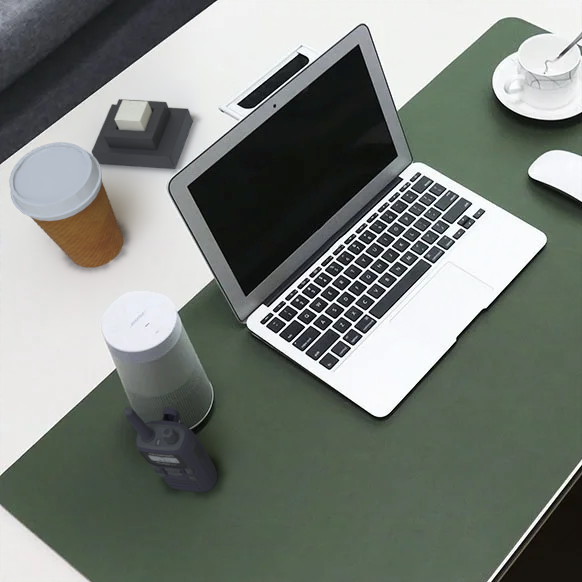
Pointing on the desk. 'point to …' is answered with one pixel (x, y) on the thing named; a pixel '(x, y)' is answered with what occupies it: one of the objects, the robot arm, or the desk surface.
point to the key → (133, 115)
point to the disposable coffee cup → (68, 202)
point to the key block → (144, 138)
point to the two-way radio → (174, 451)
